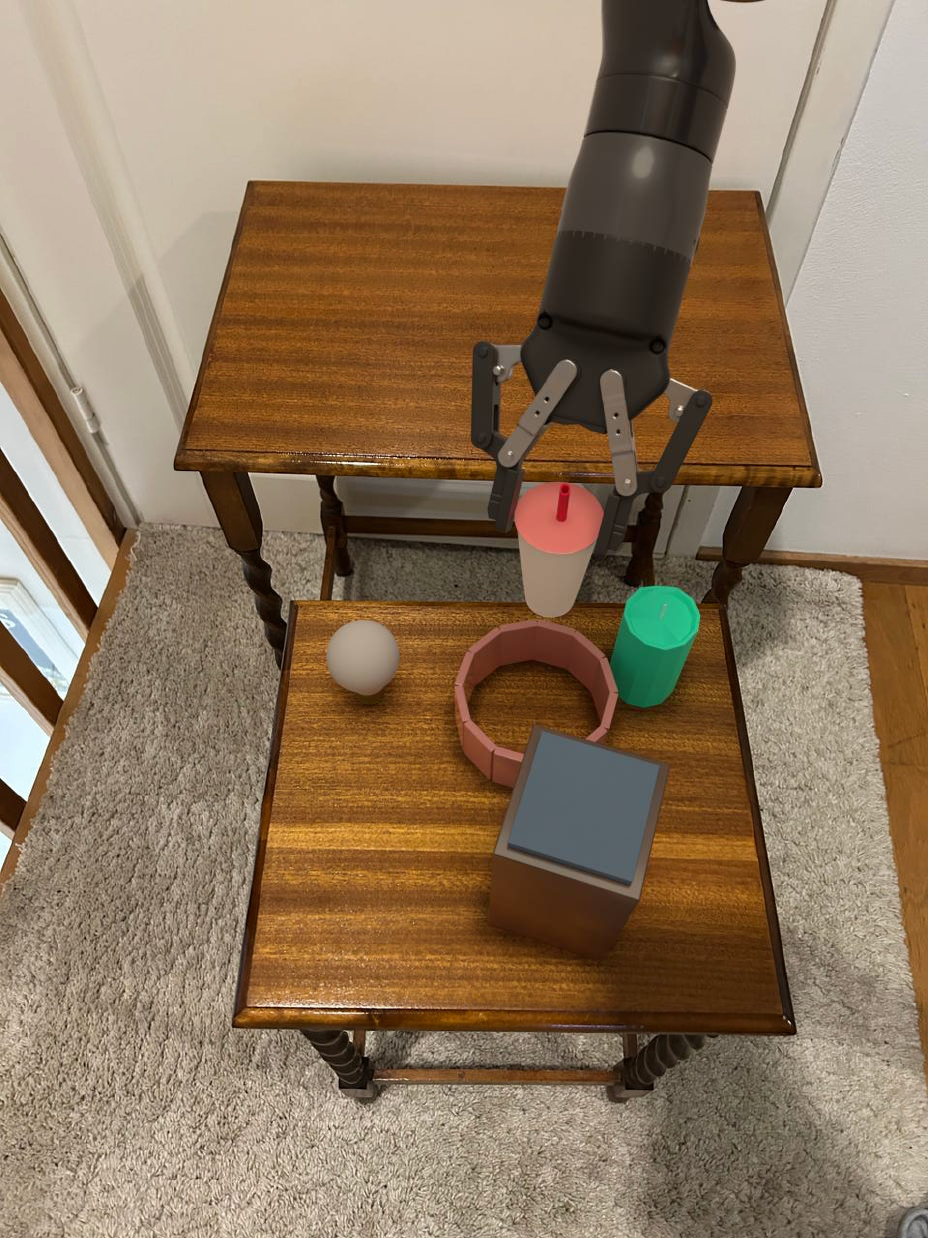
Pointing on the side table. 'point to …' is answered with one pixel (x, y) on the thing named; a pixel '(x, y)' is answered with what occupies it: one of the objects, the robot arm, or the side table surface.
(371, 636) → the light bulb
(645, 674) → the candle
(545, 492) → the cup
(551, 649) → the pink segmented ring
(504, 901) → the stand
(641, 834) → the coaster
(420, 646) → the side table surface
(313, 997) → the side table surface
